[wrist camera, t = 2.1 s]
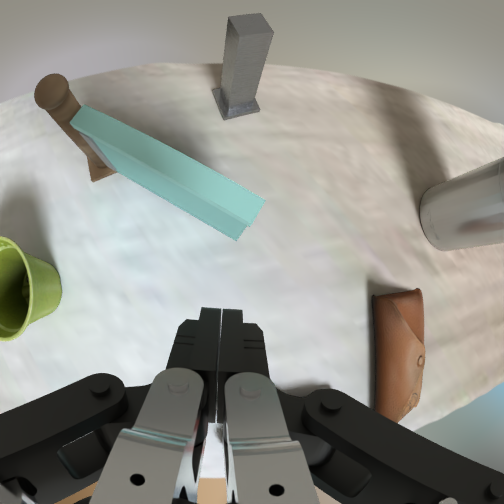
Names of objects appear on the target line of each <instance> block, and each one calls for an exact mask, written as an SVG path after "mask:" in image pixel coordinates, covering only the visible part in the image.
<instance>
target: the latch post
mask: <svg viewBox="0 0 504 504" xmlns="http://www.w3.org/2000/svg"><path fill="white" fill-rule="evenodd" d="M273 33H274V32H273V30H272V29H271V27H270V26H269V24H268V23H267V21H266V20H265V18H264V17H263V16H262V14H261V13H258V14H247V15H238V16H231V17H228V24H227V32H226V40H225V50H224V58H223V68H222V78H221V88H218V89H214V90H213V95H214V97H215V99H216V102H217V104H218V107H219V109H220V112H221V114H222V117H223V119H224V120H227V119H231V118H235V117H239V116H243V115H247V114H251V113H256V112H259V111H260V108H259V106H258V104H257V101H256V99H255V95H256V91H257V88H258V84H259V81H260V77H261V74H262V71H263V67H264V64H265V60H266V57H267V54H268V50H269V47H270V44H271V40H272V37H273Z"/></svg>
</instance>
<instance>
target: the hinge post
mask: <svg viewBox="0 0 504 504" xmlns="http://www.w3.org/2000/svg"><path fill="white" fill-rule="evenodd" d="M34 98H35V101H36V103H37V105H38V106H39V107H40V108H42V109H45V110H46V111H47V112H48V113H49V115H50V116H51V117H52V118H53V119H54V120H55V121H56V123H57V124H58V125H59V126H60V127H61V128H62V129H63V130H64V132H65V133H66V134H67V135H68V136H69V137H70V138H71V139H72V140H73V142H74V143H75V144H76V145H77V146H78V147H79V148H80V149H81V150H82V151H83V152H84V154H85V155H86V156H87V159H88V165H89V171H90V176H91V181H92V182H95V181H98V180H100V179H102V178H104V177H107V176H109V175H112V174H114V173H116V172H117V171H114V170H112V169H111V168H109V167H107V166H106V164H105V163H104V162H103V161H102V160H101V159H100V157H99V156H98V155H97V154H96V153H95V151H94V150H93V149H92V148H91V147H90V145H89V144H88V143H87V142H86V141H85V139H84V138H83V137H82V136H81V135H80V133H79V132H80V131H78V130H76V129H74V128H73V126H72V125H71V124H70V121H71V120H72V119H73V117H74V116H75V115H76V114H77V112H78V111H79V110H80V108H81V106H80V104H79V103H78V101H77V100H76V98H75V97H74V95H73V94H72V92H71V91H70V89H69V85H68V81H67V80H66V78H65V77H63V76H62V75H60V74H50V75H47V76H45V77H44V78H43V79H42V80H41V81H40V82H39V83H38V85H37V86H36V89H35V93H34Z"/></svg>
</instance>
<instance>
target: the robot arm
mask: <svg viewBox="0 0 504 504" xmlns="http://www.w3.org/2000/svg"><path fill="white" fill-rule="evenodd" d="M420 218H421V224H422V227H423V230H424V233H425V235H426V237H427V238H428V240H429V241H430V243H431V244H432V245H433V246H434V247H436V248H437V249H439V250H441V251H451V250H458V249H466V248H473V247H479V246H486V245H493V244H499V243H504V157H502V158H500V159H498V160H495V161H493V162H491V163H488V164H486V165H484V166H481V167H479V168H477V169H474V170H472V171H470V172H467V173H465V174H463V175H460V176H458V177H455V178H453V179H451V180H448V181H446V182H443V183H441V184H439V185H436V186H434V187H432V188H429V189H428V190H427V191H426V192H425V193H424V195H423V197H422V200H421V204H420ZM220 329H221V338H220ZM217 383H218V397H217ZM216 399H217V423H223V454H224V466H225V477H226V487H227V504H320V502H319V499H318V496H317V493H316V490H315V487H314V485H315V486H317V487H318V488H319V489H321V490H322V491H323V492H325V493H326V494H328V495H329V496H331V497H332V498H334V499H335V500H337V501H338V502H340V503H341V504H504V474H503V473H501V472H498V471H496V470H494V469H491V468H489V467H486V466H484V465H481V464H479V463H477V462H474V461H472V460H470V459H468V458H466V457H464V456H461V455H459V454H457V453H455V452H453V451H451V450H448V449H446V448H444V447H442V446H440V445H438V444H436V443H434V442H432V441H430V440H428V439H426V438H424V437H422V436H420V435H418V434H416V433H414V432H413V431H411V430H409V429H407V428H405V427H403V426H401V425H399V424H398V423H396V422H394V421H392V420H390V419H388V418H387V417H385V416H383V415H381V414H379V413H378V412H376V411H374V410H372V409H371V408H369V407H367V406H365V405H364V404H362V403H360V402H359V401H357V400H355V399H353V398H352V397H350V396H348V395H347V394H345V393H343V392H341V391H338V390H335V389H320V390H316V391H314V392H312V393H311V394H310V395H309V396H308V397H307V398H306V399H305V398H300V397H296V396H291V395H288V394H285V393H283V392H281V391H280V390H278V389H277V388H276V387H275V385H274V383H273V382H272V381H271V380H270V376H269V370H268V363H267V356H266V350H265V343H264V336H263V331H262V330H261V329H260V328H259V326H258V325H257V324H255V323H243V313H242V310H237V309H223V313H222V325H221V309H219V308H205V307H202V308H201V313H200V317H199V320H190V319H186V320H185V321H184V322H183V323H182V324H181V325H180V326H179V327H178V330H177V334H176V337H175V340H174V344H173V346H172V350H171V353H170V356H169V360H168V363H167V366H166V370H164V371H162V372H160V373H159V374H158V375H157V376H156V377H155V378H154V380H153V383H151V384H149V385H145V386H136V387H125V386H124V384H123V382H122V381H121V380H120V379H119V378H118V377H116V376H114V375H111V374H107V373H98V374H93V375H90V376H88V377H85V378H83V379H81V380H79V381H77V382H74V383H72V384H70V385H68V386H66V387H63V388H61V389H59V390H56V391H54V392H52V393H50V394H47V395H45V396H43V397H40V398H38V399H36V400H33V401H31V402H29V403H26V404H24V405H21V406H19V407H17V408H14V409H12V410H9V411H7V412H4V413H2V414H0V504H54V503H56V502H58V501H60V500H62V499H64V498H66V497H68V496H70V495H72V494H74V493H76V492H78V491H80V490H82V489H84V488H86V487H87V486H89V485H91V484H93V483H95V482H97V481H98V483H97V485H96V488H95V490H94V493H93V495H92V496H89V497H87V498H84V499H82V500H80V501H78V502H76V503H74V504H197V489H198V482H199V477H200V471H201V465H202V460H203V454H204V449H205V443H206V436H207V431H208V422H209V423H215V415H216ZM92 431H93V432H92ZM90 432H91V433H90ZM88 433H89V434H88ZM86 434H87V435H86ZM84 435H85V436H84ZM82 436H83V437H82ZM73 441H74V442H73ZM71 442H72V443H71ZM69 443H70V444H69ZM67 444H68V445H67Z"/></svg>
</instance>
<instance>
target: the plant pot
mask: <svg viewBox="0 0 504 504" xmlns="http://www.w3.org/2000/svg"><path fill="white" fill-rule="evenodd" d="M27 277H28V278H29V282H27ZM61 296H62V289H61V284H60V277H59V275H58V273H57V271H56V270H55V268H54V267H53V266H52V265H50V264H49V263H47V262H45V261H42V260H40V259H38V258H35V257H33V256H31V255H29V254H27V253H25V252H23V251H22V249H21V248H20V247H19V246H18V245H17V244H16V243H15V242H14V241H13V240H11V239H9V238H6V237H3V236H0V341H11V340H14V339H16V338H17V337H19V336H20V335H21V334H22V333H23V332H24V330H25V329H26V327H27V326H28V325H29V324H31V323H32V322H34V321H36V320H38V319H40V318H43V317H45V316H47V315H49V314H51V313H52V312H53V311H55V309H56V308H57V307H58V305H59V303H60V300H61Z"/></svg>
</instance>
